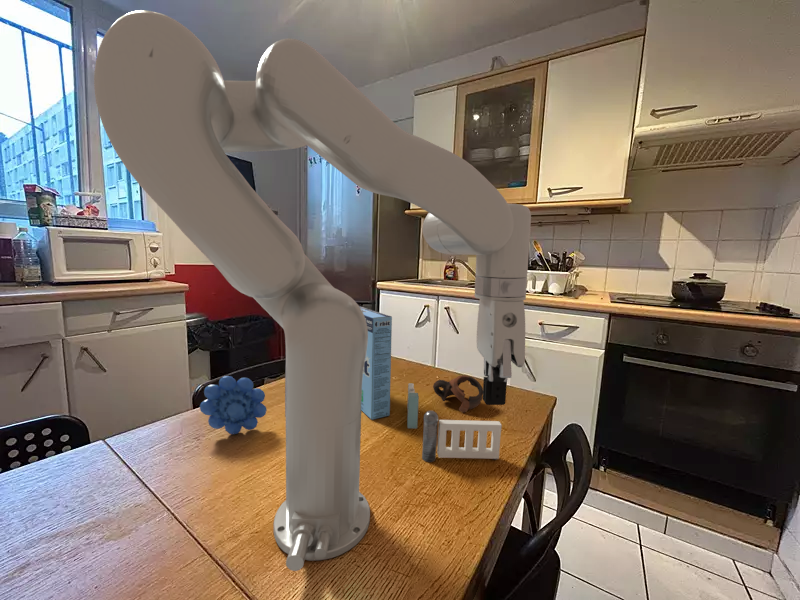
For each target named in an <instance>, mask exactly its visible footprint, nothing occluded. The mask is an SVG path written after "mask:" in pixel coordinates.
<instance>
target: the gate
mask: <svg viewBox="0 0 800 600" xmlns="http://www.w3.org/2000/svg"><path fill="white" fill-rule="evenodd" d="M502 426H503V425H502V423H501V422H500V421H499V420H498V421H497V420H466V419H465V420H463V419H462V420H461V419H459V420H458V419H457V420H456V419H438V432H437V448H436V454H437V457H438V458H440V459H441V458H443V459H444V458H445V459H446V458H448V459H455V458H456V459H492V460H494V461H496V460H500V445H501V437H502V436H501V434H502ZM447 431H451V440H450V446H447V445H446V444H447ZM461 431H463V432H464V431H465V432H464V433H465V434H464V447H462V446H461V447H460V436H461V435H460V434H461ZM474 432H478V433H477V445H476V447H473V446H474V435H475V434H474ZM488 432H491V436H490V437H491V440H490V447H487V437H488Z"/></svg>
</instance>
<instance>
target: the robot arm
mask: <svg viewBox="0 0 800 600" xmlns="http://www.w3.org/2000/svg"><path fill="white" fill-rule="evenodd" d="M114 21H115V22H113V24H112V25H110V27H109V28H108V29H107V31H106V32H105V34H104V36H103V37H102V40H101V43H100V45H99V48H98V51H97V55H96V59H95V63H94V64H95V65H94V73H93V80H94V81H93V85H94V95H95V102H96V107H97V110H98V111H97V112H98V115H99V117H100V118H99V119H100V121H101V124H102V125H103V128H104V131H105V134H106V136H107V138H108V139H109V142H110V144H111V146H112V148H113V149H114V151H115V153H116V155H117V156H118V158H119V159H120V160H121V162H122V164H123V165H124V166H125V168H126V170H127V171H128V172H129V174H130V175H131V176H132V178H133V179H134V180H135V181H136V182H137V184H138V185H139V186H140V187H141V188H142V190H144V192H146V194H147V195H148V196H149V198H151V199H152V200H153V202H155V204H156V205H157V206H158V207H159V208H160V209H161V210H162V212H164V213H165V214H166V215H167V216H168V217H169V219H171V221H172V222H173V223H174V224H175V225H176V226H177V228H178V229H179V230H180V231H181V232H182V233H183V234H184V236H185V237H187V238H188V239H189V240H190V241H191V243H192V244H193V245H195V247H196V248H197V249H198V250H199V251H200V252H201V253H202V255H204V256H205V257H206V258H207V259H208V260H209V261H210V262H211V264H212V265H213V266H214V267H215V268H216V269H217V270H218V271H219V272H220V273H221V276H223V277H224V279H225V280H226V281H227V282H228V283H229V285H231V287H233V288H234V289H235V290H237V291H238V292H240V293H241V294H244V295H245V296H247V297H249V298H253V299H254V300H255V301H256V303H258V305H259V306H261V308H262V309H263V310H264V311H266V312H267V313H268V314H269V316H270V317H272V319H273V320H274V321H275V322H277V324H278V325H279V326H280V327H281V328H282V329H283V332H284V340H285V341H284V342H285V343H284V344H285V379H284V381H285V383H284V384H285V386H284V388H285V389H284V391H285V392H284V393H285V394H284V395H285V396H284V404H285V405H284V407H285V408H284V410H285V411H284V412H285V413H284V417H285V500H284V501H283V502H282V503H281V505H280V506H279V507H278V508H277V511H276V513H275V515H274V519H273V536H274V540H275V542H276V543H277V546H278V547H279V548H280V549H281V550H282V551H283V552H284V553H286V554H287V557H286V560H285V565H286V567H287V569H289V570H290V571H293V572H298V571H300V570H301V569H303V567H304V564H305V560H306V561H323V560H329V559H332V558H335V557H338V556H341V555H343V554H344V553H346V552H348V551H350V550H351V549H352V548H355V546H356V545H358V543H359V542H360V541H361V540H362V539H363V538H364V536H365V535H366V533H367V532H368V529H369V526H370V520H371V519H370V518H371V508H370V504H369V502H368V500H367V499H366V497H365V495H364V494H363V493H361V492H360V476H361V475H360V473H361V472H360V470H361V469H360V468H361V463H360V462H361V435H362V433H361V432H362V430H361V429H362V410H361V394H362V378H363V369H364V363H365V357H366V351H367V344H368V329H367V323H366V319H365V317H364V314H363V312H362V310H361V308H360V307H359V306H360V305H359V303H357V302H356V300H354V298H352V296H350V295H349V294H347V293H345V292H343V291H341V290H339V289H338V288H335V286H333V285H332V284H331V283H330V282H329V281H328V279H327V278H326V277H325V276H324V275H323V273H321V271H320V270H319V269H318V268H317V266H315V264H314V263H313V262H312V261H311V259H309V257H308V256H307V255H306V254H305V251H304V249H303V245H302V243H301V242H300V240H299V238H298V236H297V235H296V234H295V233H294V232H293V231H292V230H291V229H290V228H289V227H288V226H287V225H286V224H285V223H284V222H283V220H281V219H280V217H278V216H277V215H276V214H275V212H274V211H273V210H272V209H271V208H270V207H269V206H268V205H267V203H266V202H265V201H264V200H263V199H262V197H261V196H260V195H259V194H258V192H256V190H254V188H252V186H251V185H250V183H249V182H248V181H247V179H246V178H245V176H244V175H243V174H242V173H241V172H240V171H239V169H238V168H237V166H236V165H235V164H234V163H233V162H232V161H231V160H230V158H229V157H228V155H227V154H226V153H244V152H248V153H249V152H250V153H251V152H269V151H270V152H271V151H283V150H292V149H293V150H294V149H299V148H303V147H306V146H307V147H308V148H310V149H312V151H314V152H315V153H316V154H318V155H319V156H320V157H321V158H323V160H325V161H326V162H327V163H329V164H330V165H331V166H333V168H335V169H336V170H337V171H339V172H340V173H341V174H342V175H343V176H345V177H346V178H347V179H349V180H350V181H351V182H352V183H353V184H355V185H356V186H357V187H359V188H361V189H364V190H365V191H369V192H371V193H374V194H377V195H380V196H386V197H391V198H396V199H400V200H402V201H405V202H408V203H410V204H412V205H415V206H417V207H418V208H420V209H422V210H424V211H426V212H427V215H426V216H425V218H424V220H423V224H422V236H423V239H424V241H425V242H426V244H427V245H428V246H429V247H430V248H431V249H433V250H434V251H436V252H437V253H440V254H444V255H451V256H452V255H453V256H454V255H455V256H456V255H457V256H459V255H460V256H462V255H465V256H466V255H467V256H469V255H471V256H475V259H476V260H475V276H474V277H475V278H474V279H475V280H474V298H475V299H479V303H478V310H477V311H478V313H477V323H476V324H477V325H476V349H477V351H478V353H479V354H480V355H481V357H483V384H482V385H483V386H482V389H483V395H482V400H483V402H484V403H485V405H487V406H503V405H505V404H506V401H507V400H506V398H507V384H508V383H507V382H508V381H509V379H511V378H512V364H514V365H515V366H516V367H518V368H523V367H524V365H525V361H526V359H525V358H526V311H525V302H524V301H526V300H527V299H526V298H527V286H528V285H527V284H528V283H527V282H528V270H529V268H528V267H529V255H530V252H529V251H530V242H531V241H530V238H531V223H532V213H531V210H530V209H529V208H528V206H526V205H523V204H521V203H519V204H517V203H508V202H507V200H506V199H505V197H504V196H503V194H501V192H500V191H499V190H498V188H497V187H495V186H494V185H493V184H492V183H491V182H490V181H489V180H488V179H487V178H486V177H485V176H484V175H483V174H482V173H481V172H480V171H479V170H478V169H476V167H474V166H473V165H472V164H471V163H469V162H468V161H467V160H465V159H464V158H462V157H461V156H459V155H457V154H455V153H453V152H451V151H449V150H447V149H445V148H443V147H441V146H439V145H436V144H435V143H432V142H430V141H429V140H426V139H424V138H422V137H419V136H417V135H414V134H411V133H408V132H407V131H406V130H404V129H402V128H401V127H400V126H398V125H397V124H396V123H395V122H394V121H393V120H392V119H391V118H390V117H388V116H387V115H386V113H384V111H383V110H381V109H380V108H379V107H377V106H376V104H374V102H373V101H371V99H369V98H368V97H367V96H366V95H365V94H364V93H363V92H362V91H361V90H359V89H358V88H357V87H356V86H355V85H354V84H353V82H352V81H350V80H348V78H347V77H346V76H345V75H344V74H342V73H341V72H340V71H339V70H338V69H337V68H336V67H335V66H334V65H333V64H331V62H330V61H329V60H328V59H327V58H325V57H324V56H323V55H322V54H321V53H320V52H318V51H317V50H316V48H313V47H312V46H311V45H309V44H308V43H306V42H304V41H302V40H301V39H300V40H299V39H296V38H291V37H290V38H282V39H280V40H277V41H275V42H274V43H272V44H271V45H270V46H269V47H268V48H267V49H266V50H265V52H264V53H263V54H262V56H261V58H260V60H259V63H258V67H257V70H256V76H255V80H227V79H226V80H225V79H224V76H223V74H222V72H221V69H220V67H219V65H218V63H217V61H216V59H215V58H214V56H213V54H211V52H210V50H208V48H207V47H206V46H205V44H204V43H203V41H201V40H200V39H199V38H198V37H197V36H196V35H195V33H194V32H192V31H191V30H190V29H188V27H187V26H184V24H182V23H180V22H179V21H178V20H176V19H175V18H172V17H170V16H168V15H166V14H163V13H161V12H155V11H152V10H142V9H140V10H134V11H130V12H128V13H126V14H123V15H122V16H120V17H119V18H117V19H116V20H114Z"/></svg>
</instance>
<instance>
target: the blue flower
mask: <svg viewBox="0 0 800 600" xmlns="http://www.w3.org/2000/svg"><path fill="white" fill-rule="evenodd" d="M203 393H204V397H205V398H207V399H204V400H203V401H202V402H200V405H199V410H200V412H201V413H202V414H203V415H205V416H209V417H208V420H207V422H208V425H209V426H210V427H211V428H213V429H214V430H218V429H222V428H224V429H225V432H227V434H230V435H236V434H239V433H240V432H241V431H242V428H244V429H245V430H247V431H251V430H254V429H255V428H257V425H258V418H262V417H264V416H265V415H266V414H267V410H268V409H267V406H266V405H265V404H264V403H262V402H263V401H265V398H266V393H265V392H264V390H262V389H261V388H258V387H256V388H255V387H254V382H253V381H252V380H251V379H250V377H249V378H248V377H241V378H239V379H238V380H236V379H235V378H233V376H231V375H230V376H229V375H224V376H222V377H221V378H219V381H218V384H209V385H207V386H205V388H204V391H203Z"/></svg>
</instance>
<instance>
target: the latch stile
mask: <svg viewBox="0 0 800 600" xmlns="http://www.w3.org/2000/svg"><path fill="white" fill-rule="evenodd" d="M407 404H408V409H407V422H406V425H407V427H406V428H407V429H418V420H419V418H418V417H419V393H418V392H415V393H409V395H408V394H407Z"/></svg>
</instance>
